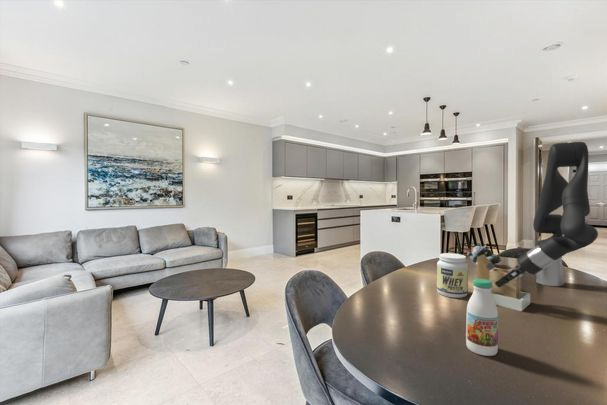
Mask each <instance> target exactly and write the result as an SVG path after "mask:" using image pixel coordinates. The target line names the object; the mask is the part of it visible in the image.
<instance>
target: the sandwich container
mask: <svg viewBox="0 0 607 405" xmlns="http://www.w3.org/2000/svg"><path fill="white" fill-rule="evenodd" d="M493 268H497V267H496V266H495V264H494V265H493V264H492V262H491V261H490V260H489V259H488V258H487V257H486V256H485V255H484V254H483V255H481V256H478V257H477V265H476V279H486V280H489V270H491V269H493Z"/></svg>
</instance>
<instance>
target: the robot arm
mask: <svg viewBox="0 0 607 405" xmlns="http://www.w3.org/2000/svg"><path fill="white" fill-rule="evenodd" d="M588 148H589V147H588V145H587V143H586V142H583V141H573V142H560V143H559V142H557V143H553V144H552V145H551V146H550V147H549V150H548V154H547V163H546V170H545V176H544V180H543V184H542V187H541V192H540V197H539V202H538V207H537V210H536V213H535V216H534V219H533V223H532V226H533V229H534V231H535V232H536V233H538V234H550V235H551V234H552V235H551V236H550V237H547V238H545V239H540V240H538V241H537V243H536V246H534V247H533V248H531V249H529V250H528V251H527V252H525V253H524V254H522V255H520V256H519V257H518V258H517V262H518V264H517V265H515V266H513V267H512V269H509V270H510V271H509V272H507V275H505V276H503V277H502V278H501V279H500V280H498V281H497V282H495V284H496V286H497V287H501V286H502V285H504V284H506V283H509V281H511V280H515V279H517V278H518V277H520V278H521V277H523V276H525V275H526V274H527V273H529V275H532V276H533V275H536V280H535V282H536V283H537V284H540V285H543V286H546V287H547V286H549V287H561V286H564V285H565V284H564V281H565V278H564V276H565V274H564V273H565V265H564V264H563V257H564V256H565V255H567V254H569V253H572V252H575V251H577V250H580V249H583V248H585V247H588V246H590V245H592V243H594V242H595V241H596V240H597V239H598V236H599V231H598V230H597V229H596V228H595V227H594V226H593V225H590V224H588V223H587V222H586V220H585V217H588V216H589V214H590V213H591V207H590V201H589V200H590V199H589V193H588V192H589V191H588V182H589V149H588ZM569 167H570V168H572V167H573V168H574V167H575V168H576V170H575V173H574V175H573V177H572V179H571V180H570V181H569V182H568V181H567V180H566V179H565V177H564V176H562V174H561V173H560V171H559V168H569ZM561 207H562V210H563V212H562V215H561V214H558V213H557V214H556V213H554V214H553V213H552V212H554V211H557V210H558V209H560V208H561ZM514 275H515V276H514ZM506 276H507V277H508V278H509V279H510V280H508V279H507V278H506Z"/></svg>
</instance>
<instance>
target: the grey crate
mask: <svg viewBox="0 0 607 405" xmlns="http://www.w3.org/2000/svg"><path fill="white" fill-rule="evenodd" d="M491 295H492V298H493V300H494V302H495V304H496V306H500V307H502V308H508V309H511V310H514V311H518V312H523V311H524V310H525V309H526V308H527V307H528V306H529V305H530V304H531V293H529V292H524V291H521V290H520V297H519V298H518V299H515V298H510V297H506V296H502V295H497V294H493V293H491Z"/></svg>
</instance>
